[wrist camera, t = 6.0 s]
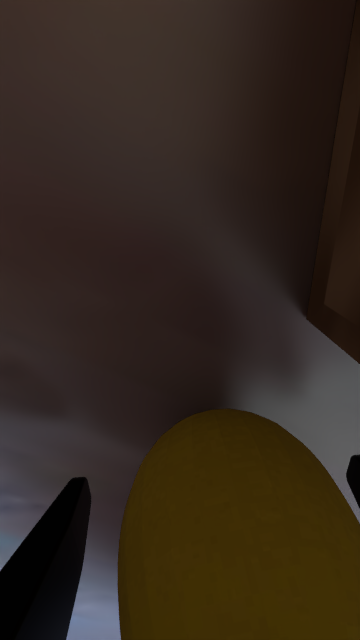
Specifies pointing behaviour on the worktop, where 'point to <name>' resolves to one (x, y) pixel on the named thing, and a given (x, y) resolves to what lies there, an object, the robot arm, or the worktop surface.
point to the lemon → (237, 538)
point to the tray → (342, 221)
